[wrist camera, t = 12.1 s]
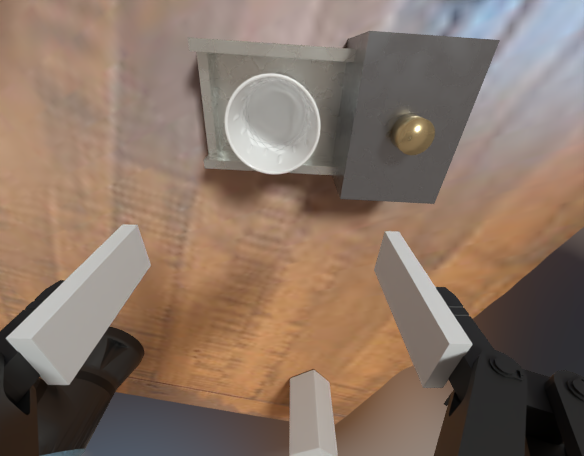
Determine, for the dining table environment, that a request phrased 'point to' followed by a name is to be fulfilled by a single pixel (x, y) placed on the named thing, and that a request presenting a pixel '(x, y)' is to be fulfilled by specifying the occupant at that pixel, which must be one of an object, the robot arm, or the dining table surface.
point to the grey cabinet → (360, 105)
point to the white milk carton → (311, 416)
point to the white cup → (272, 123)
